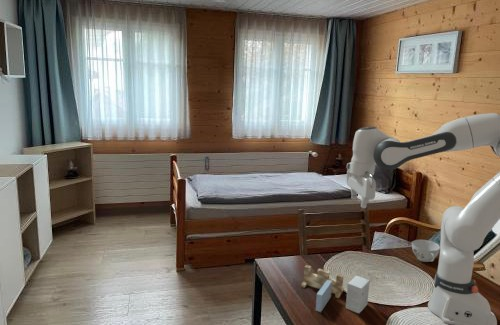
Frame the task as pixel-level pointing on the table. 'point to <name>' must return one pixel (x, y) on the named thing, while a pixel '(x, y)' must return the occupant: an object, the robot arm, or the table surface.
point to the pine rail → (322, 280)
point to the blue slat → (323, 295)
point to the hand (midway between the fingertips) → (358, 203)
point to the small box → (357, 294)
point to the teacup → (425, 250)
